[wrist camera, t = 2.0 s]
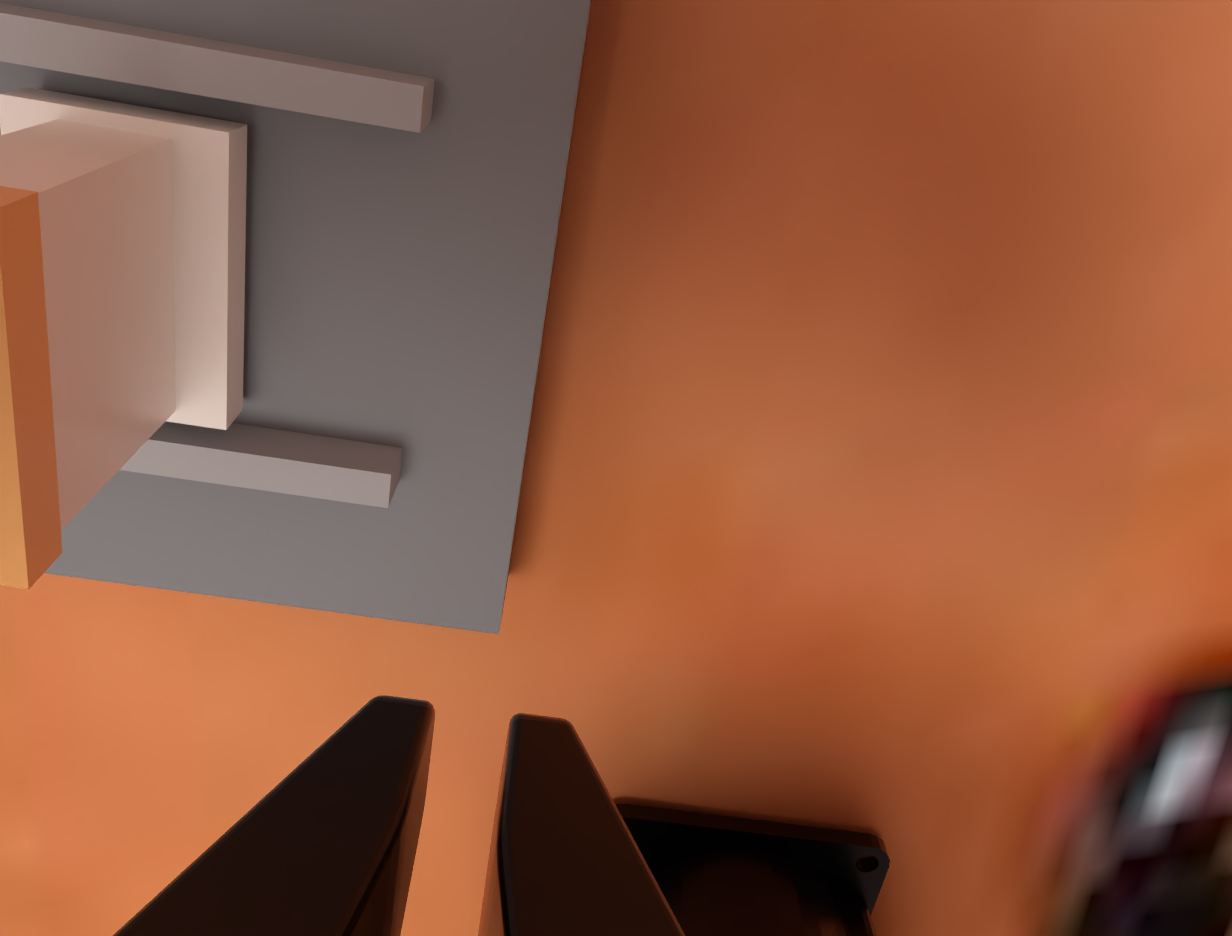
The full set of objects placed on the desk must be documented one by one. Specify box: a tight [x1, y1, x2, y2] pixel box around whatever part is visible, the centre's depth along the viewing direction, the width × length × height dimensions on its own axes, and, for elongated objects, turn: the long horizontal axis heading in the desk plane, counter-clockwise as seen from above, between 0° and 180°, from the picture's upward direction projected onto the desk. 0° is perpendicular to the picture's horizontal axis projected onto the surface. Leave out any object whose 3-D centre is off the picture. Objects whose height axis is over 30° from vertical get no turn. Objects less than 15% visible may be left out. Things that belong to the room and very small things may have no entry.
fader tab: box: [0, 87, 247, 589], centre depth 13 cm, size 3×4×6 cm
